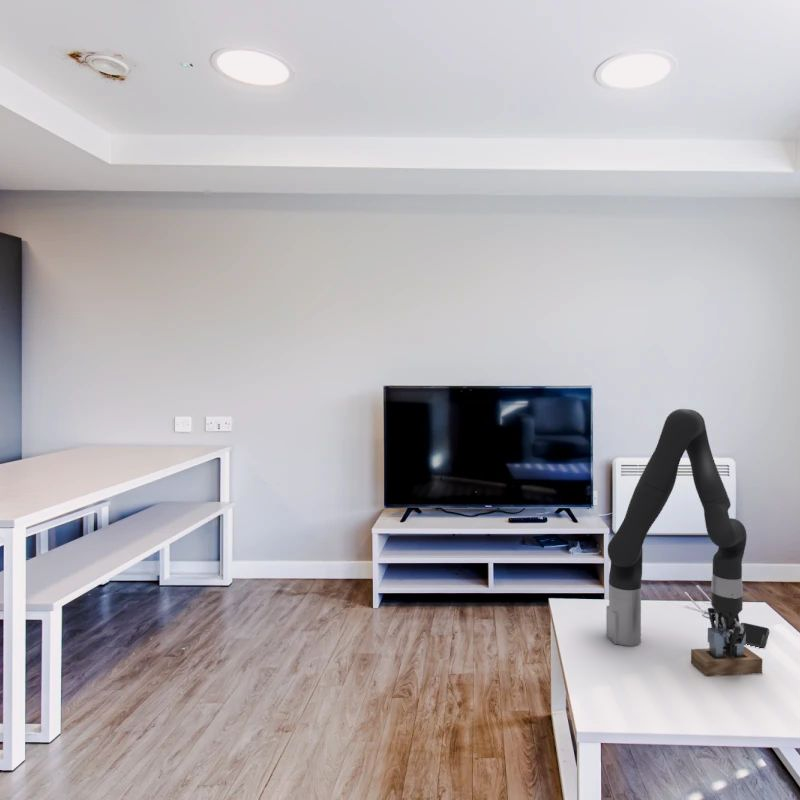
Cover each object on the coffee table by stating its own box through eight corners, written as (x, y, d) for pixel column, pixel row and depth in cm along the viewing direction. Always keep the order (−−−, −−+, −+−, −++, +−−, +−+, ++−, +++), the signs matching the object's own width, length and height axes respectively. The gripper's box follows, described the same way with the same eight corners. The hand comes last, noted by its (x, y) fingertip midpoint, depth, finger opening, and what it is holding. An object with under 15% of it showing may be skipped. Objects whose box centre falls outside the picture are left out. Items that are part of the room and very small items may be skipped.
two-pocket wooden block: (706, 676, 153) (706, 661, 153) (691, 663, 160) (691, 649, 160) (762, 673, 154) (762, 659, 154) (744, 660, 161) (745, 646, 161)
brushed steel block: (714, 661, 155) (714, 632, 155) (707, 655, 158) (707, 627, 158) (745, 659, 156) (745, 631, 155) (738, 654, 159) (738, 626, 158)
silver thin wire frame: (721, 623, 185) (721, 606, 185) (680, 610, 196) (680, 593, 195) (741, 610, 195) (741, 593, 194) (700, 598, 205) (700, 582, 205)
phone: (733, 639, 172) (741, 621, 183) (733, 643, 172) (741, 625, 183) (764, 647, 167) (770, 628, 178) (764, 650, 167) (769, 631, 179)
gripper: (698, 582, 163) (698, 640, 163) (730, 602, 149) (729, 665, 149) (723, 581, 163) (722, 639, 164) (757, 601, 149) (756, 664, 150)
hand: (726, 651), depth 157 cm, fingers closed on brushed steel block, 3 cm apart
